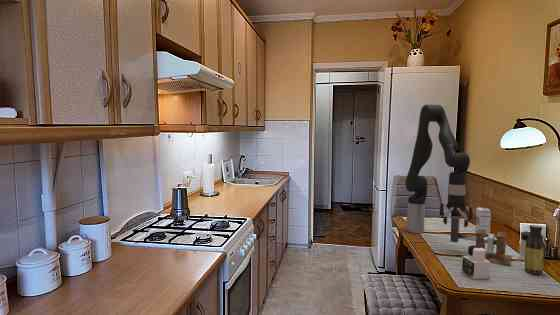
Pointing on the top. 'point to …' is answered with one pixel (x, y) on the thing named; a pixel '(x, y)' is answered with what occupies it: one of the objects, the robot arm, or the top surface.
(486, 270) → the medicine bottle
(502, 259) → the bearing stand
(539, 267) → the sauce bottle
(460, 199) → the robot arm
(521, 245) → the jar
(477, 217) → the syrup box
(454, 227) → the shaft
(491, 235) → the spacer
